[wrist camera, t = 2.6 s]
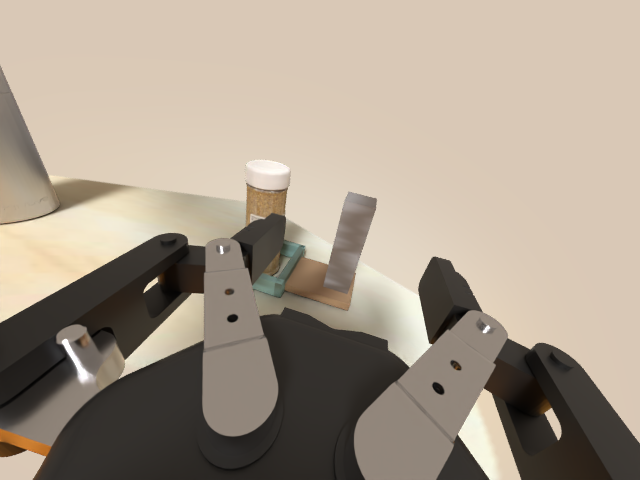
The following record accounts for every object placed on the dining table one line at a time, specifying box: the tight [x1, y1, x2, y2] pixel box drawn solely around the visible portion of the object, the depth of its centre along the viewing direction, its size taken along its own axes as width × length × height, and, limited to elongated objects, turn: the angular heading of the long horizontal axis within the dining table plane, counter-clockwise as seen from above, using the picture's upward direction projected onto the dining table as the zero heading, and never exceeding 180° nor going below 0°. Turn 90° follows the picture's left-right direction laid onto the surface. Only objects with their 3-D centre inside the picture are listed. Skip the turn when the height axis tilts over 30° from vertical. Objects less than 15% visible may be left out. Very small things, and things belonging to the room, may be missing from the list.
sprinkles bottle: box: [245, 160, 291, 276], centre depth 27 cm, size 5×5×13 cm
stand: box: [252, 192, 377, 311], centre depth 26 cm, size 16×9×12 cm, turn 75°
